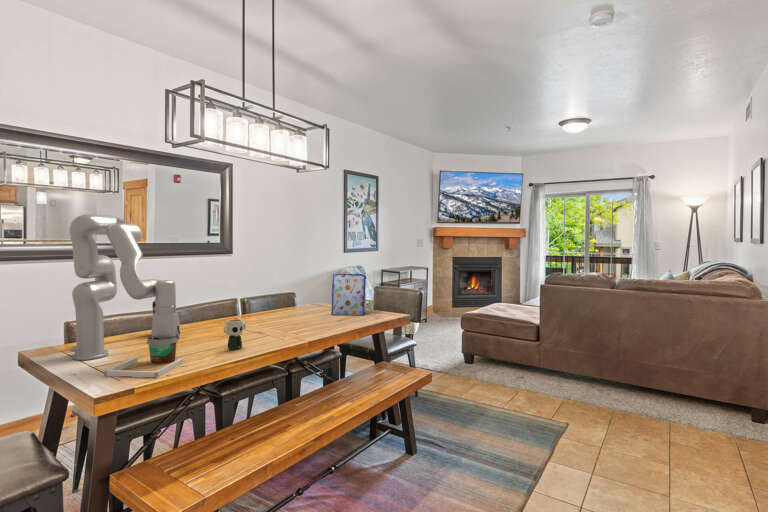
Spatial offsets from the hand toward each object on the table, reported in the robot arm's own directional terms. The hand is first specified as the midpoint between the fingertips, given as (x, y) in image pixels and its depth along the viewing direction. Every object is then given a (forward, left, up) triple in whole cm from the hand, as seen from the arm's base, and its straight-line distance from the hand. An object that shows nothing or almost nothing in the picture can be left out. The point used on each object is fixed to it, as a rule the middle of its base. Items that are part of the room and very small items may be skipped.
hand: (167, 353), depth 175 cm
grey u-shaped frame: (0, -13, -2) cm, 13 cm away
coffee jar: (-26, +39, -3) cm, 47 cm away
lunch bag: (+59, +110, -3) cm, 125 cm away
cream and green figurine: (+21, +19, -3) cm, 28 cm away
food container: (0, -5, -3) cm, 5 cm away
